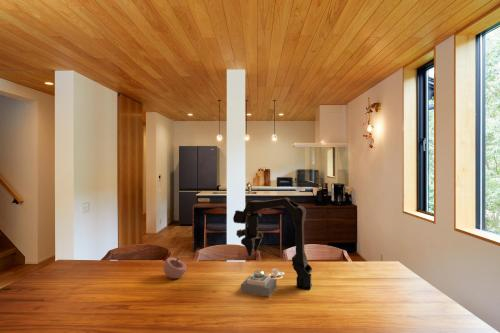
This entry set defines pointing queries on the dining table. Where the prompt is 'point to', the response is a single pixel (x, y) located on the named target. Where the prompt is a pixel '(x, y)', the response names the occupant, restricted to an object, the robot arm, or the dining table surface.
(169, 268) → the mortar and pestle
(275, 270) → the teacup and saucer
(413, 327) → the dining table surface
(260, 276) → the metal can
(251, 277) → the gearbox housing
